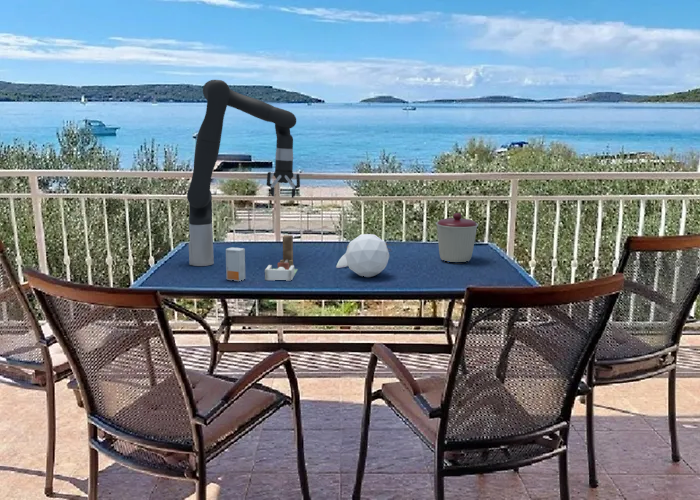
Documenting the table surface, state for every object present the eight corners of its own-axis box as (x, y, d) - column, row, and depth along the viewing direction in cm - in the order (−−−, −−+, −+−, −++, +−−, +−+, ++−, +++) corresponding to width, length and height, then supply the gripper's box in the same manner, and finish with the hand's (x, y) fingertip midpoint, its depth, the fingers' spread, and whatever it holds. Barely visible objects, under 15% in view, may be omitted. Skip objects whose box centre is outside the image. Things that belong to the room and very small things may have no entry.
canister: (464, 267, 247) (467, 217, 243) (426, 261, 258) (428, 213, 253) (483, 260, 261) (486, 212, 257) (446, 254, 272) (448, 208, 268)
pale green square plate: (268, 274, 233) (268, 274, 233) (273, 269, 242) (273, 268, 242) (294, 275, 233) (294, 274, 233) (297, 269, 242) (297, 268, 242)
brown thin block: (277, 272, 236) (277, 242, 234) (283, 263, 251) (283, 235, 249) (288, 272, 236) (288, 242, 234) (294, 263, 251) (293, 235, 248)
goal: (265, 280, 225) (264, 269, 224) (268, 275, 233) (268, 265, 232) (291, 280, 225) (291, 270, 224) (294, 275, 232) (294, 265, 232)
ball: (275, 266, 230) (277, 266, 233) (275, 275, 229) (277, 276, 233) (285, 266, 230) (286, 267, 233) (284, 275, 229) (286, 276, 233)
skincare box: (226, 280, 225) (225, 249, 222) (232, 277, 229) (231, 246, 226) (240, 281, 223) (239, 250, 220) (246, 279, 226) (245, 248, 224)
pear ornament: (375, 229, 221) (368, 217, 248) (326, 264, 222) (324, 249, 249) (400, 264, 224) (390, 249, 251) (352, 298, 225) (347, 279, 253)
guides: (280, 267, 245) (279, 260, 244) (280, 266, 246) (280, 259, 245) (292, 268, 244) (292, 260, 244) (293, 267, 246) (293, 260, 245)
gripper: (266, 158, 252) (265, 196, 256) (299, 160, 252) (298, 198, 255) (269, 157, 260) (268, 195, 263) (301, 159, 260) (300, 197, 263)
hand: (282, 196), depth 259 cm, fingers open, 8 cm apart
